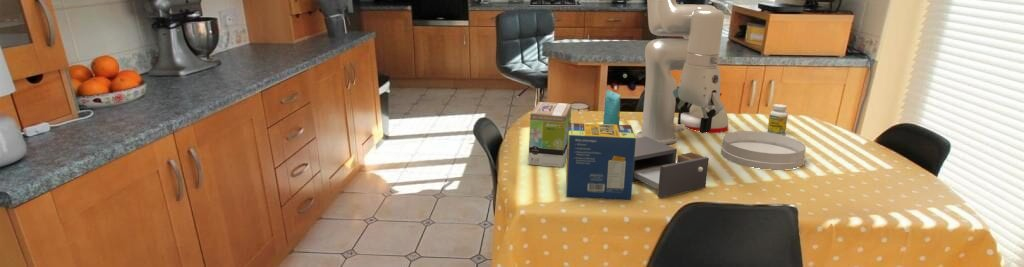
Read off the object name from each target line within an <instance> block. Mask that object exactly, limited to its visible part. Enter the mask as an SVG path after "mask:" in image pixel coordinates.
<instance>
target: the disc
mask: <svg viewBox="0 0 1024 267" xmlns="http://www.w3.org/2000/svg"><path fill="white" fill-rule="evenodd" d="M703 117H704V116H703V113H699V112H684V113H681V118H680V123H681V125H683V126H684V127H685V126H689V127H698V128H700V124H701V118H703Z"/></svg>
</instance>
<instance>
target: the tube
mask: <svg viewBox="0 0 1024 267" xmlns="http://www.w3.org/2000/svg"><path fill="white" fill-rule="evenodd" d="M621 96H622V94H619V93H617V92H614V91H612V90H609V89H606V92H605V101H604V110H603V111H604V112H603V121H602V124H610V125H620V118H621V116H620V115H621Z"/></svg>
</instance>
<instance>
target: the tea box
mask: <svg viewBox="0 0 1024 267" xmlns="http://www.w3.org/2000/svg"><path fill="white" fill-rule="evenodd" d="M571 117H572V104H571V103H563V102H561V103H560V102H548V101H538V102H537V104H536V105H535V107H534V108H533V110H532V111H530V116H529V141H528V162H527V164H528V165H533V166H542V167H553V168H554V167H555V168H563V166H564V164H565V162H566V161H567V146H568V129H569V123H572V122H571V121H572V120H571V119H572V118H571Z"/></svg>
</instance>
